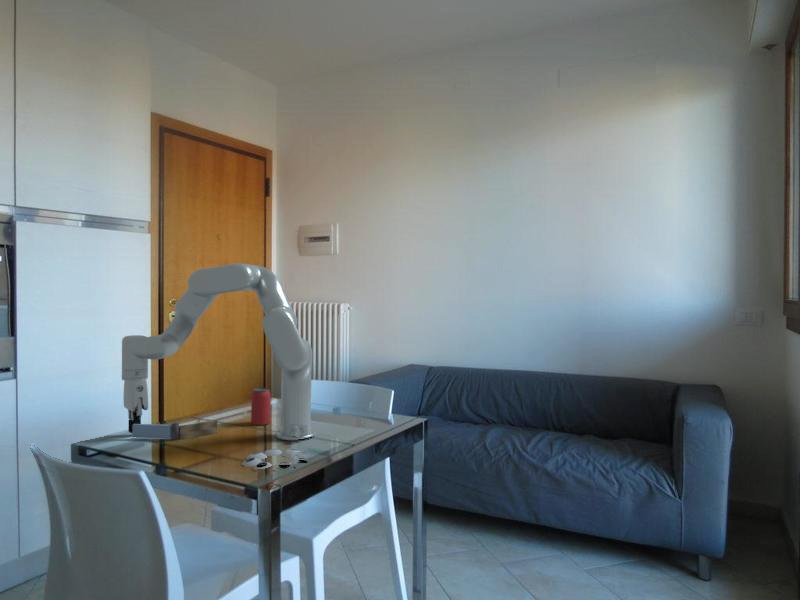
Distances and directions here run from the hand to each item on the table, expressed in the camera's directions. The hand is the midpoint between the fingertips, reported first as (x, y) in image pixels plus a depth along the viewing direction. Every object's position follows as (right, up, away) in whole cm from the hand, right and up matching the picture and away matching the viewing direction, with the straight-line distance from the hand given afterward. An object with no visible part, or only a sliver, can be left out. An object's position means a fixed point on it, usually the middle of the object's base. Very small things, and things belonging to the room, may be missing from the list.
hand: (134, 431), depth 178 cm
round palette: (+51, -3, -25) cm, 57 cm away
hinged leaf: (+7, -1, -4) cm, 8 cm away
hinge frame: (+19, -1, 0) cm, 19 cm away
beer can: (+36, -2, +18) cm, 40 cm away
